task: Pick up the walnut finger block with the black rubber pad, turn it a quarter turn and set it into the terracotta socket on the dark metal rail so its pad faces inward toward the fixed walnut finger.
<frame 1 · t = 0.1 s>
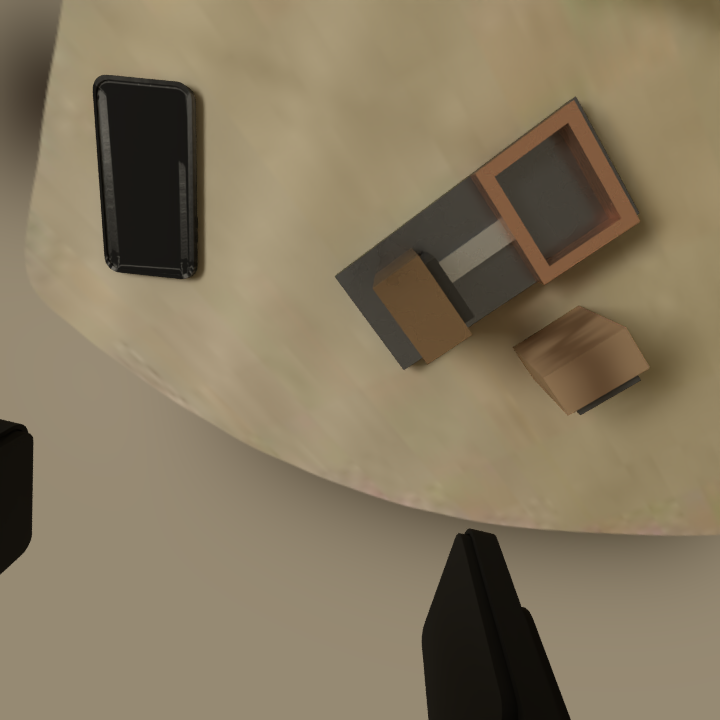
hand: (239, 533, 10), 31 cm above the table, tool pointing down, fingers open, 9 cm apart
phone: (154, 184, 38), on the table
loose finger: (557, 346, 40), on the table
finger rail: (478, 245, 38), on the table
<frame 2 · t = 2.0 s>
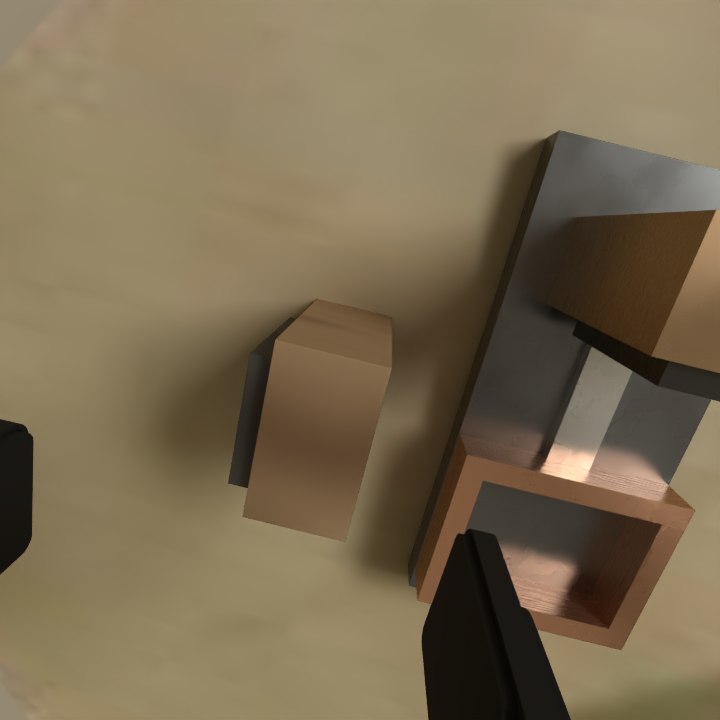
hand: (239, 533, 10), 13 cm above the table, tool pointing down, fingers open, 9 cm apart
loose finger: (331, 369, 22), on the table
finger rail: (567, 407, 22), on the table
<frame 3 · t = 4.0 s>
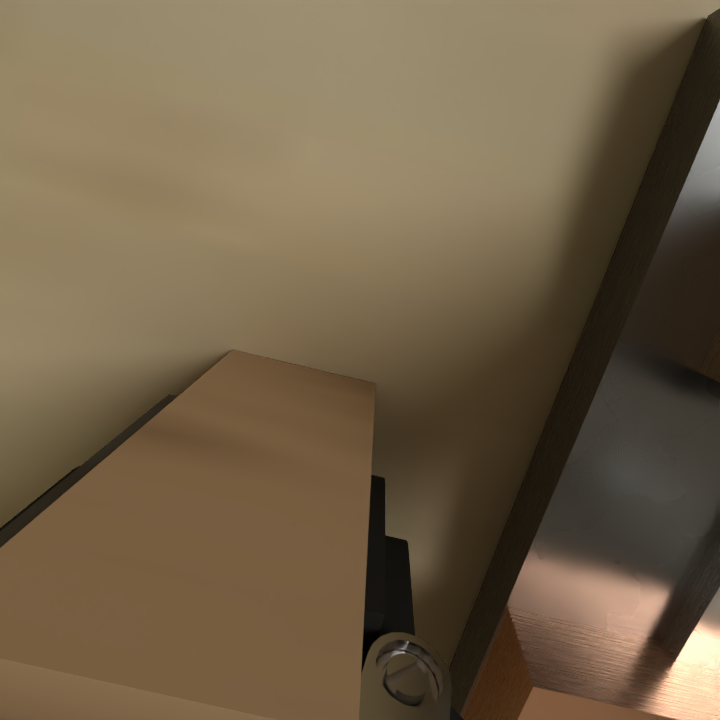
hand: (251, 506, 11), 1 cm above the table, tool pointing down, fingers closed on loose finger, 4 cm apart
loose finger: (266, 474, 12), on the table, touching gripper
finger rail: (699, 542, 12), on the table
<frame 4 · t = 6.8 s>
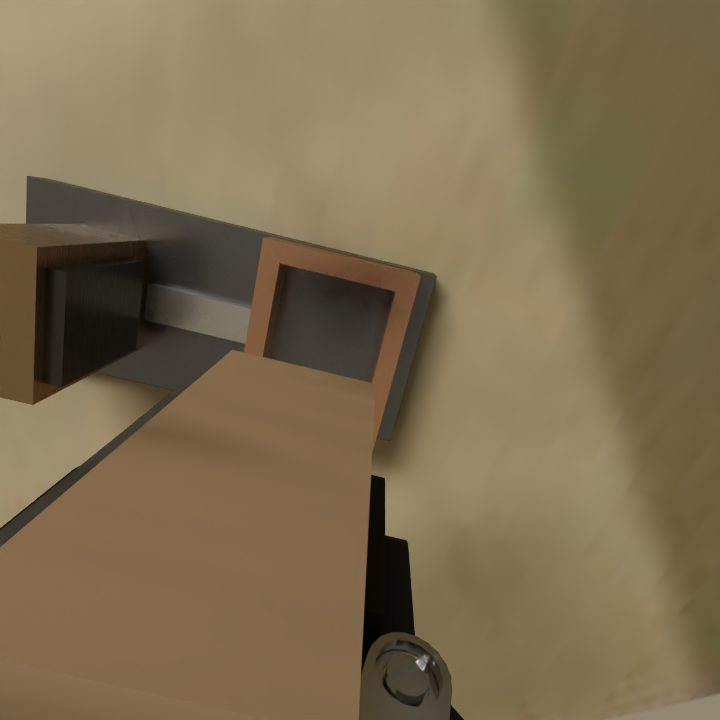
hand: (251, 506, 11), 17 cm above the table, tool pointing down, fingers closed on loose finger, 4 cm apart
loose finger: (266, 474, 12), point 16 cm above the table, touching gripper
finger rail: (229, 312, 27), on the table
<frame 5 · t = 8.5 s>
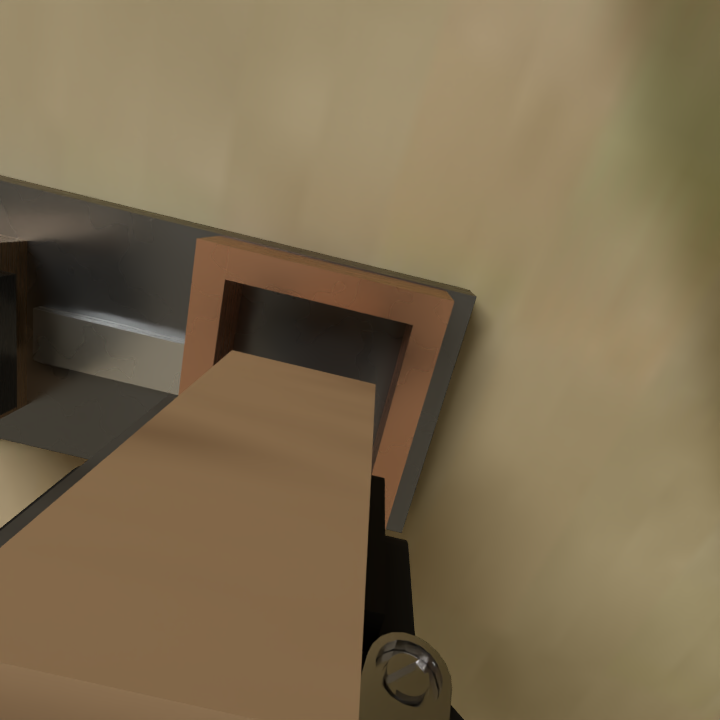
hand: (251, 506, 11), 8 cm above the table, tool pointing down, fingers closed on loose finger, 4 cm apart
loose finger: (266, 475, 12), point 7 cm above the table, touching gripper
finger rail: (167, 345, 18), on the table
when the fingers open (5 cm above the table, at t = 9.9 s): loose finger drops 2 cm, resting on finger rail.
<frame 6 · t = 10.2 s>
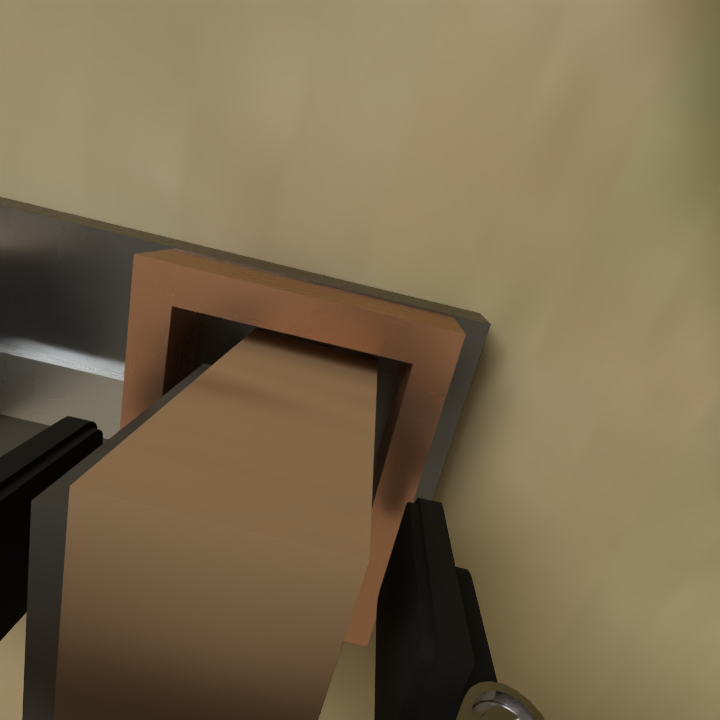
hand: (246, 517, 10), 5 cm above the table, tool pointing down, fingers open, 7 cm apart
loose finger: (281, 438, 14), point 1 cm above the table, touching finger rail
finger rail: (116, 379, 15), on the table
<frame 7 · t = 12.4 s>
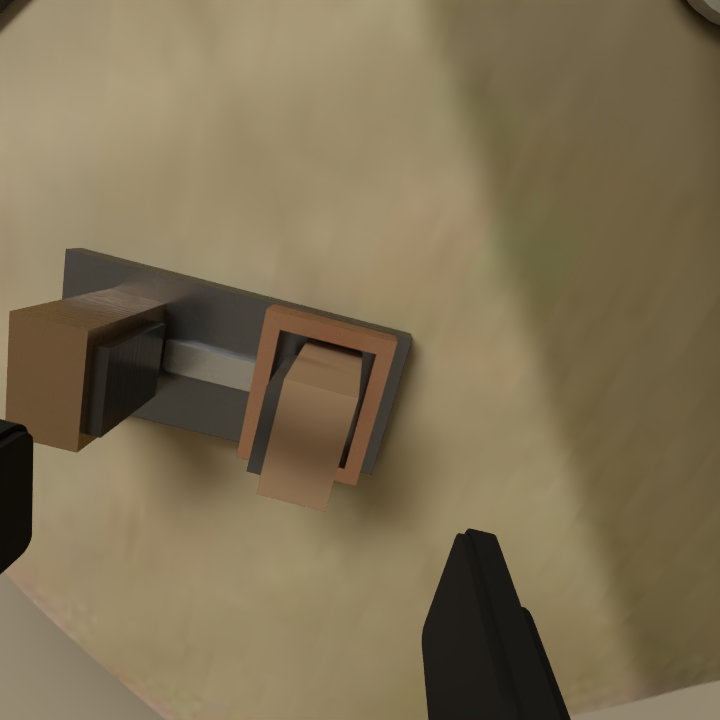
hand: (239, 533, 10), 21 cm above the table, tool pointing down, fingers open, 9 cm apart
loose finger: (317, 390, 30), point 1 cm above the table, touching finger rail
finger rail: (234, 362, 31), on the table
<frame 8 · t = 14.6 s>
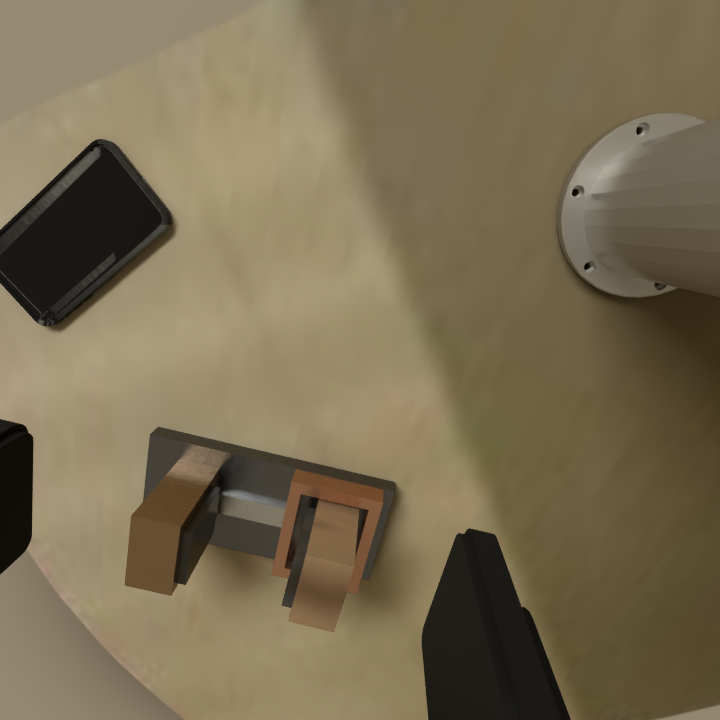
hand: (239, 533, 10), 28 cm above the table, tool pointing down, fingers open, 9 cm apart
phone: (82, 238, 37), on the table
loose finger: (327, 524, 41), point 1 cm above the table, touching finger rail
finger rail: (267, 500, 43), on the table
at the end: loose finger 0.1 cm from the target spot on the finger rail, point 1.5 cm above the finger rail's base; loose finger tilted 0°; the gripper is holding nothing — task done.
